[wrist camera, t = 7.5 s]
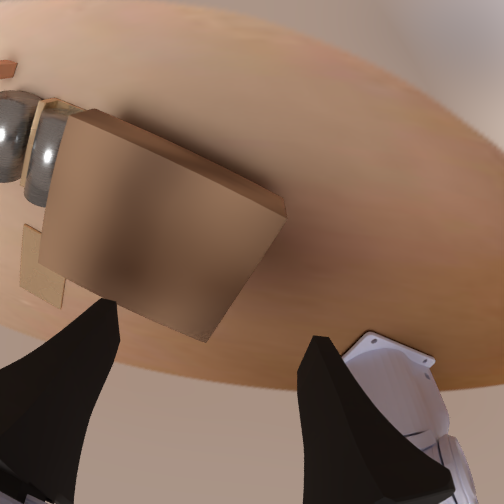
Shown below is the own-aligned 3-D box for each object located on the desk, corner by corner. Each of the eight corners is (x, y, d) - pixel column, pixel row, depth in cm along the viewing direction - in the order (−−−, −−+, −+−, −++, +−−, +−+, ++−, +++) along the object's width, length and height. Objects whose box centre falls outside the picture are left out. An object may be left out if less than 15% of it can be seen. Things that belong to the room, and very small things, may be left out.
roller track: (283, 203, 18) (288, 227, 16) (182, 363, 25) (175, 393, 23) (18, 84, 14) (-14, 89, 11) (-6, 268, 21) (-26, 288, 18)
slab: (283, 197, 15) (287, 219, 13) (210, 313, 18) (205, 343, 16) (94, 108, 13) (68, 115, 10) (58, 241, 16) (37, 262, 14)
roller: (63, 106, 15) (31, 111, 12) (99, 123, 15) (67, 129, 13) (44, 177, 17) (14, 191, 15) (76, 196, 18) (47, 213, 15)
